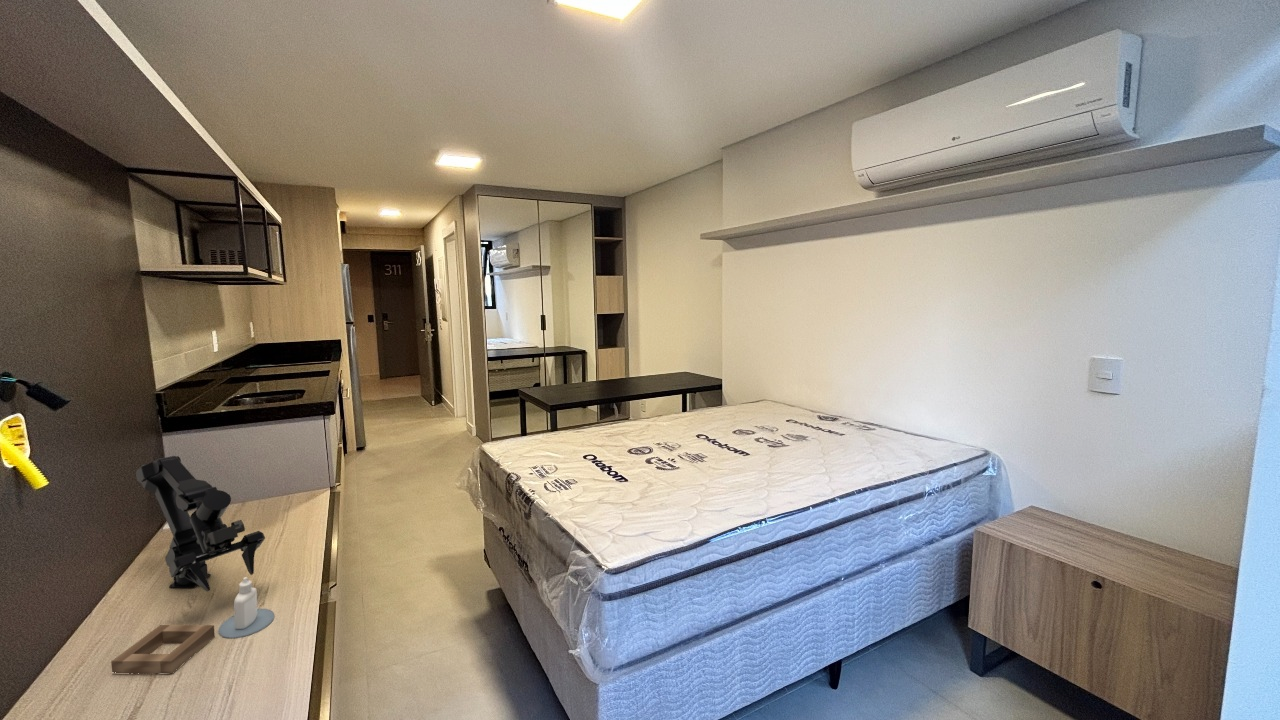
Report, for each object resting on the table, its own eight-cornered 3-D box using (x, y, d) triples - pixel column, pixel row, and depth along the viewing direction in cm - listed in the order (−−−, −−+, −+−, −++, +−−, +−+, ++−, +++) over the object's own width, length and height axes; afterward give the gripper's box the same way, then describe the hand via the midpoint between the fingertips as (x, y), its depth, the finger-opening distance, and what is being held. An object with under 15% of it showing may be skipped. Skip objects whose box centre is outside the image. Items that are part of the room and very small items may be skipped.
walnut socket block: (112, 674, 108) (111, 661, 108) (161, 636, 120) (160, 625, 120) (172, 674, 109) (171, 661, 109) (214, 636, 121) (214, 625, 121)
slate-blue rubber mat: (206, 638, 121) (206, 636, 121) (239, 609, 131) (239, 608, 131) (255, 638, 121) (255, 636, 121) (284, 610, 132) (284, 608, 132)
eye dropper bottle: (264, 618, 128) (263, 574, 126) (239, 632, 123) (238, 586, 121) (252, 612, 129) (251, 569, 127) (227, 625, 124) (226, 581, 122)
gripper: (170, 527, 121) (193, 585, 117) (260, 501, 138) (282, 552, 134) (159, 548, 126) (181, 605, 122) (247, 521, 142) (268, 571, 138)
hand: (231, 582), depth 129 cm, fingers open, 9 cm apart
